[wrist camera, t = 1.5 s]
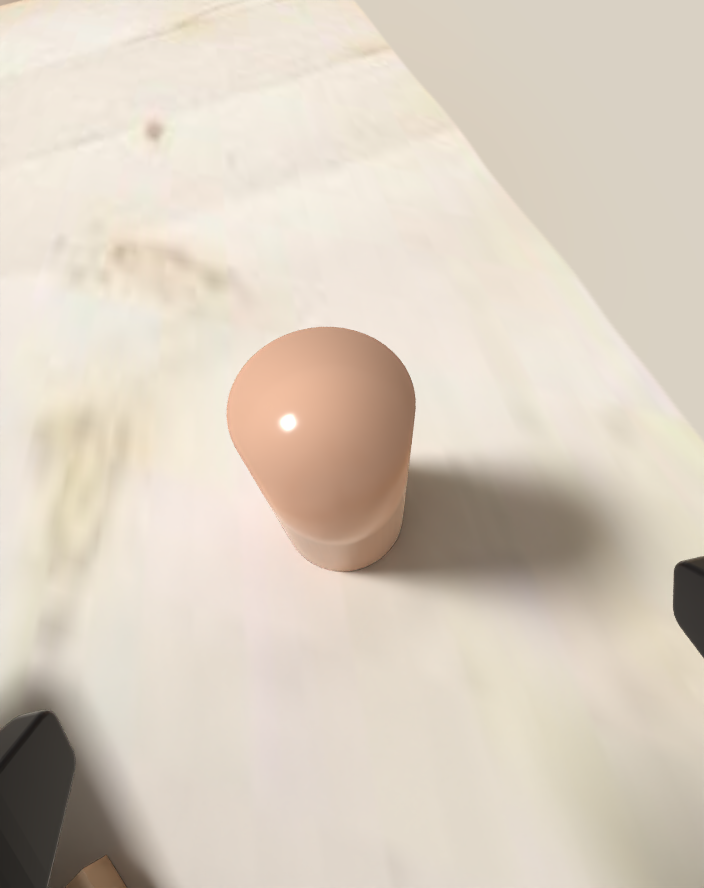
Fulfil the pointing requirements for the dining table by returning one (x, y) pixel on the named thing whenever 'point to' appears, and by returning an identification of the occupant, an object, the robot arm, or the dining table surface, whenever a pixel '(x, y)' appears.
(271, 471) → the peach bullet knob
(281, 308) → the dining table surface
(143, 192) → the dining table surface
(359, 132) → the dining table surface
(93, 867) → the walnut fulcrum
